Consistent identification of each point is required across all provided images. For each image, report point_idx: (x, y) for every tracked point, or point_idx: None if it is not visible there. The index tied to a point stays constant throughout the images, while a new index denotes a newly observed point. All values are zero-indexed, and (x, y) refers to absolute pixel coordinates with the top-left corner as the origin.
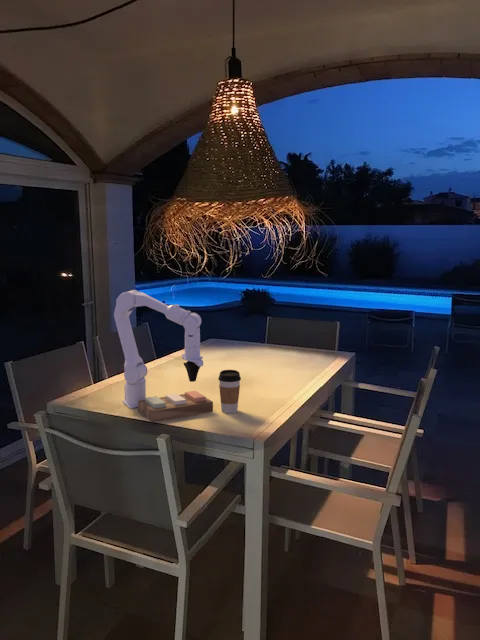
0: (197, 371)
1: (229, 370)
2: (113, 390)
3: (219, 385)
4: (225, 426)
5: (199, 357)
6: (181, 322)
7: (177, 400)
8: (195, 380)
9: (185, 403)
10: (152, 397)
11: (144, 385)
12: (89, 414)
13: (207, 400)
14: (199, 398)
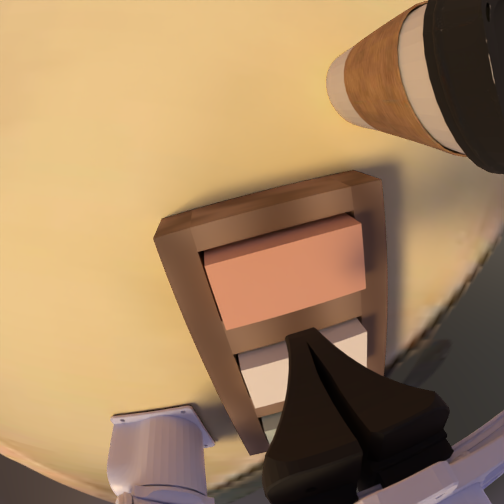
0: (371, 376)
1: (490, 20)
2: (34, 445)
3: (453, 153)
4: (487, 178)
5: (477, 488)
6: None
7: (362, 364)
8: (319, 332)
9: (359, 322)
10: None
11: (185, 479)
12: (242, 486)
13: (352, 205)
14: (361, 260)
